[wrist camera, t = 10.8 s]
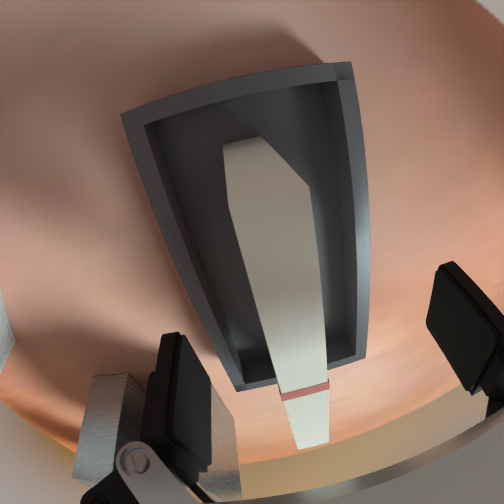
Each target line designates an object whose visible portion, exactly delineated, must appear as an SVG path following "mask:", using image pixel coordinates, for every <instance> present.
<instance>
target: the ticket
mask: <svg viewBox="0 0 504 504" xmlns="http://www.w3.org/2000/svg"><path fill="white" fill-rule="evenodd" d="M223 155H224V166H225V176H226V186H227V197H228V206H229V210H230V213H231V217H232V221H233V224H234V228H235V232H236V235H237V239H238V242H239V246H240V250H241V253H242V257H243V260H244V264H245V268H246V271H247V275H248V278H249V282H250V285H251V289H252V293H253V296H254V300H255V303H256V307H257V310H258V314H259V317H260V321H261V324H262V328H263V331H264V335H265V338H266V342H267V345H268V349H269V352H270V356H271V359H272V363H273V366H274V370H275V373H276V377H277V382H278V387H279V392H280V396H281V399H282V401H284V404H285V407H286V411H287V414H288V418H289V421H290V424H291V428H292V431H293V435H294V438H295V441H296V445H297V448H298V450H300V449H304V448H308V447H312V446H316V445H320V444H324V443H327V442H329V407H328V389H329V380H328V377H327V356H326V340H325V325H324V312H323V300H322V289H321V279H320V269H319V259H318V251H317V242H316V234H315V226H314V218H313V211H312V203H311V196H310V190H309V186H308V185H307V184H306V183H305V182H304V181H303V180H302V179H301V177H300V176H299V175H298V174H297V173H296V172H295V171H294V170H293V169H292V168H291V167H290V166H289V165H288V164H287V163H286V161H285V160H284V159H283V158H282V157H281V156H280V155H279V154H278V153H277V152H276V151H275V150H274V149H273V148H272V147H271V146H270V145H269V144H268V143H267V142H266V141H265V140H264V139H263V138H262V137H261V136H258V137H253V138H249V139H245V140H240V141H236V142H232V143H228V144H224V145H223Z"/></svg>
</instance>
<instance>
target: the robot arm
mask: <svg viewBox="0 0 504 504" xmlns="http://www.w3.org/2000/svg"><path fill="white" fill-rule="evenodd" d="M426 325H427V328H428V330H429V331H430V333H431V334H432V336H433V337H434V339H435V341H436V342H437V344H438V345H439V347H440V348H441V350H442V352H443V353H444V355H445V356H446V358H447V360H448V361H449V363H450V365H451V366H452V368H453V370H454V371H455V373H456V375H457V377H458V378H459V380H460V382H461V383H462V385H463V387H464V389H465V390H466V391H469V392H470V394H471V395H472V396H473V395H474V394H476V393H478V392H480V391H481V390H482V389H483V391H484V393H485V398H484V405H483V410H482V415H481V419H480V423H478V424H476V425H475V426H473V427H471V428H470V429H468V430H466V431H464V432H463V433H461V434H459V435H457V436H455V437H453V438H452V439H450V440H448V441H446V442H444V443H442V444H440V445H438V446H436V447H434V448H432V449H430V450H427V451H425V452H423V453H421V454H419V455H417V456H414V457H412V458H409V459H407V460H405V461H402V462H400V463H397V464H395V465H392V466H389V467H387V468H384V469H381V470H379V471H376V472H373V473H369V474H367V475H363V476H360V477H357V478H354V479H350V480H347V481H343V482H340V483H336V484H332V485H328V486H324V487H320V488H315V489H311V490H307V491H301V492H296V493H290V494H285V495H279V496H272V497H265V498H257V499H249V500H239V501H227V502H217V501H216V500H215V499H214V498H213V497H212V496H211V495H210V494H209V493H208V492H207V491H206V490H205V489H204V488H203V487H202V486H201V485H200V484H199V483H198V481H199V473H204V472H208V467H207V466H210V465H211V464H212V437H211V381H210V378H209V376H208V374H207V372H206V371H205V369H204V367H203V366H202V364H201V362H200V360H199V359H198V357H197V355H196V353H195V352H194V350H193V348H192V346H191V345H190V343H189V341H188V339H187V337H186V336H185V335H181V334H180V333H179V332H173V333H167V334H163V335H162V337H161V341H160V347H159V352H158V358H157V363H156V369H155V371H154V372H151V374H150V376H149V379H148V385H147V391H146V397H145V403H144V409H143V416H142V423H141V430H140V437H139V442H138V441H134V442H130V443H128V444H126V445H124V446H123V447H122V448H121V449H120V450H119V452H118V454H117V457H116V469H115V470H114V471H112V472H111V473H110V474H109V475H107V476H106V477H105V478H104V479H102V480H101V481H100V482H99V483H97V484H96V485H95V486H94V487H92V488H91V489H90V490H88V491H87V492H86V493H85V494H84V495H83V497H82V499H81V501H80V504H504V315H503V314H502V313H501V312H500V310H499V309H498V308H497V307H496V306H495V305H494V303H493V302H492V301H491V300H490V299H489V298H488V297H487V296H486V294H485V293H484V292H483V291H482V290H481V289H480V288H479V287H478V286H477V285H476V284H475V282H474V281H473V280H472V279H471V278H470V277H469V276H468V275H467V274H466V273H465V272H464V271H463V270H462V269H461V268H460V267H459V266H458V265H457V264H456V263H455V262H454V261H450V262H448V263H445V264H442V265H440V266H439V267H438V270H437V271H436V273H435V279H434V284H433V290H432V295H431V300H430V304H429V309H428V314H427V318H426Z"/></svg>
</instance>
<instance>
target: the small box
mask: <svg viewBox="0 0 504 504" xmlns="http://www.w3.org/2000/svg"><path fill="white" fill-rule="evenodd" d="M15 342H16V340H15V337H14V335H13V332H12V329H11V326H10V322H9V319H8V315H7V312H6V309H5V305H4V301H3V297H2V293H1V289H0V373H1V370H2V368H3V366H4V364H5V362H6V360H7V358H8V356H9V354H10V352H11V350H12V348H13V346H14V344H15Z"/></svg>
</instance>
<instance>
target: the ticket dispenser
mask: <svg viewBox="0 0 504 504" xmlns="http://www.w3.org/2000/svg"><path fill="white" fill-rule="evenodd" d="M145 397H146V394H145V393H144V391H143V390H142V389H141V388H140V387H139V386H138V385H137V383H136V382H135V381H134V380H133V379H132V378H131V376H130V375H129V374H128V373H125V374H116V375H106V376H95V377H94V378H93V382H92V386H91V389H90V393H89V397H88V401H87V405H86V409H85V413H84V418H83V422H82V426H81V431H80V436H79V441H78V446H77V451H76V456H75V462H74V468H73V474H72V479H74V480H76V481H78V482H80V483H82V484H84V485H86V486H88V487H90V488H92V487H94V486H95V485H96V484H97V483H99V482H100V481H101V480H102V479H104V478H105V477H106V476H107V475H109V474H110V473H111V472H112V471H114V470H115V469H116V457H117V454H118V452H119V450H120V449H121V448H122V447H123V446H124V445H126V444H128V443H130V442H134V441H138V442H139V437H140V430H141V423H142V416H143V409H144V403H145ZM211 437H212V464H211V465H210V466H207V467H208V472H204V473H199V481H198V483H199V484H200V485H201V486H202V487H203V488H204V489H205V490H206V491H207V492H208V493H209V494H210V495H211V496H212V497H213V498H214V499H215V500H216V501H217V502H227V501H239V500H243V499H242V491H241V482H240V474H239V464H238V454H237V444H236V434H235V424H234V418H233V416H232V415H231V413H230V412H229V410H228V409H227V407H226V406H225V404H224V403H223V401H222V399H221V398H220V396H219V395H218V393H217V392H216V390H215V388H214V387H213V385H212V384H211Z"/></svg>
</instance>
